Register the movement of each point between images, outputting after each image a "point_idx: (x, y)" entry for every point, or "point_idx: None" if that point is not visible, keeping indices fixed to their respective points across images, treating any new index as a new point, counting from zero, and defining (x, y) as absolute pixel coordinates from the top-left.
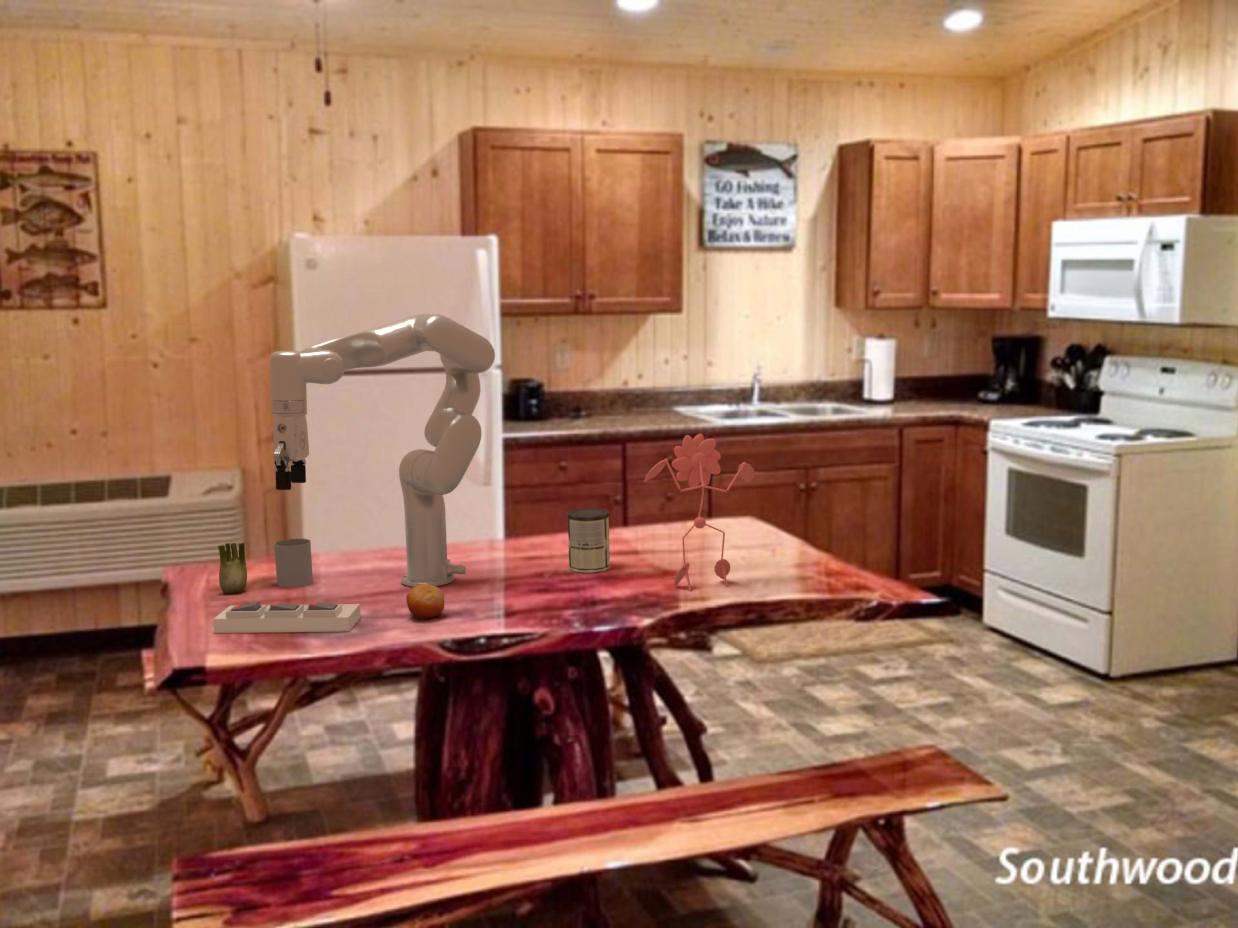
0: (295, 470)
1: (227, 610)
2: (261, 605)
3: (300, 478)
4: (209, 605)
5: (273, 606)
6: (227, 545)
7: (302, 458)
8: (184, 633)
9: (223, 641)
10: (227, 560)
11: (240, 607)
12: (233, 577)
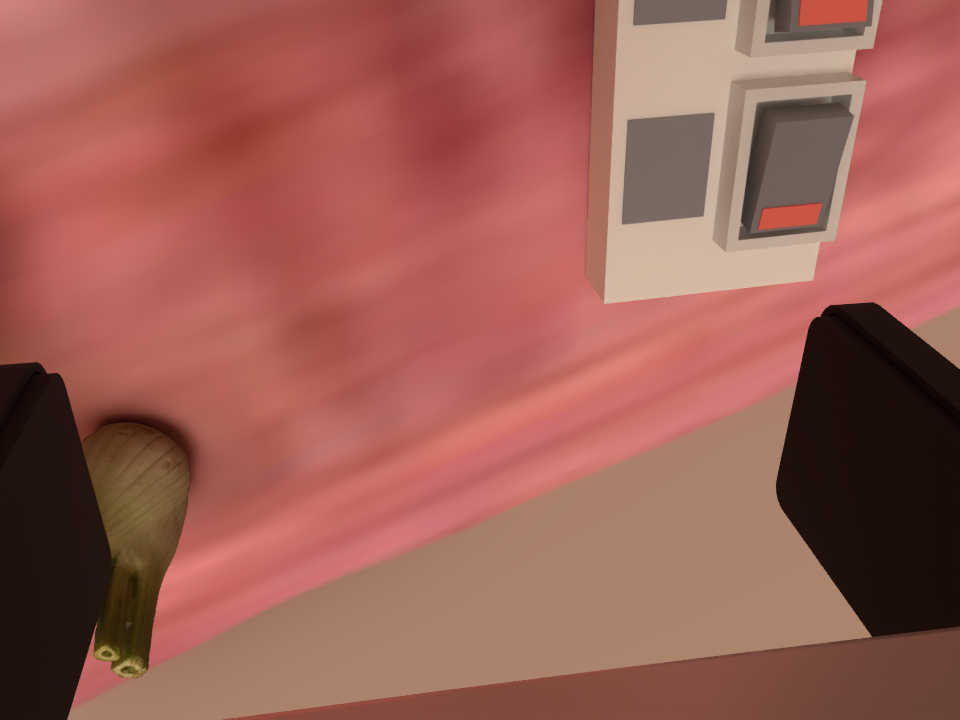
0: (31, 681)
1: (686, 279)
2: (752, 111)
3: (52, 477)
4: (368, 452)
5: (871, 6)
6: (119, 641)
7: (676, 662)
8: (763, 361)
9: (908, 164)
10: (130, 579)
11: (814, 191)
12: (163, 489)
